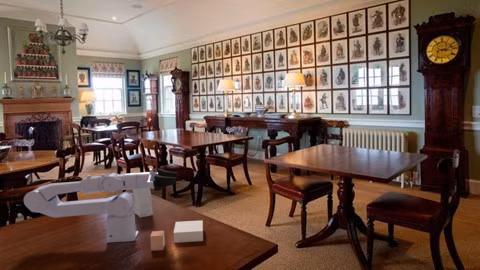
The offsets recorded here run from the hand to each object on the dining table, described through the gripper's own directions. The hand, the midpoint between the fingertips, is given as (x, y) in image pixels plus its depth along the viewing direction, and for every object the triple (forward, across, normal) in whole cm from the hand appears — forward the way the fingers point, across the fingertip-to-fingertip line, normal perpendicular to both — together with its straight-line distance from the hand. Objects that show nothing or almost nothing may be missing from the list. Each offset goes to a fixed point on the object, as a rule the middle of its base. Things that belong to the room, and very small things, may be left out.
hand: (176, 178), depth 122 cm
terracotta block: (-7, -10, +21) cm, 24 cm away
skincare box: (-18, +24, +21) cm, 37 cm away
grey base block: (+3, -2, +22) cm, 22 cm away
